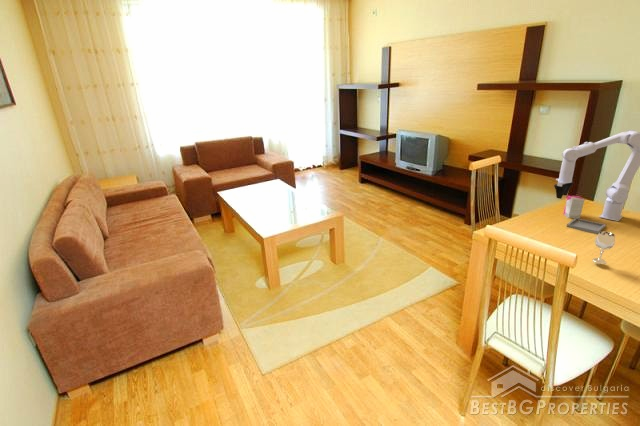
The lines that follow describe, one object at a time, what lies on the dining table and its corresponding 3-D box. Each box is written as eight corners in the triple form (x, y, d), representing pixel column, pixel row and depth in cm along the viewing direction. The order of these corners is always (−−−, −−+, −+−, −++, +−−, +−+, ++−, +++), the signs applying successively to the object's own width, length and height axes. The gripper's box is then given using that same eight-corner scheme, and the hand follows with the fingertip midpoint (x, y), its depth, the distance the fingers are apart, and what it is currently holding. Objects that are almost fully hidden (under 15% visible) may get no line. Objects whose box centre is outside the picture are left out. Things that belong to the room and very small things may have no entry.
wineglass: (586, 258, 138) (593, 231, 134) (599, 257, 138) (607, 230, 134) (598, 265, 133) (606, 237, 128) (612, 264, 133) (620, 236, 129)
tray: (574, 220, 176) (575, 217, 175) (605, 227, 166) (605, 224, 166) (566, 227, 168) (566, 224, 168) (597, 234, 159) (598, 231, 159)
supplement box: (580, 219, 177) (585, 198, 173) (567, 219, 178) (572, 198, 174) (574, 215, 182) (579, 195, 178) (562, 215, 183) (566, 195, 179)
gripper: (562, 168, 184) (558, 192, 188) (552, 173, 175) (548, 198, 180) (578, 170, 178) (572, 194, 183) (568, 175, 170) (563, 200, 175)
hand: (561, 196), depth 181 cm, fingers open, 7 cm apart
